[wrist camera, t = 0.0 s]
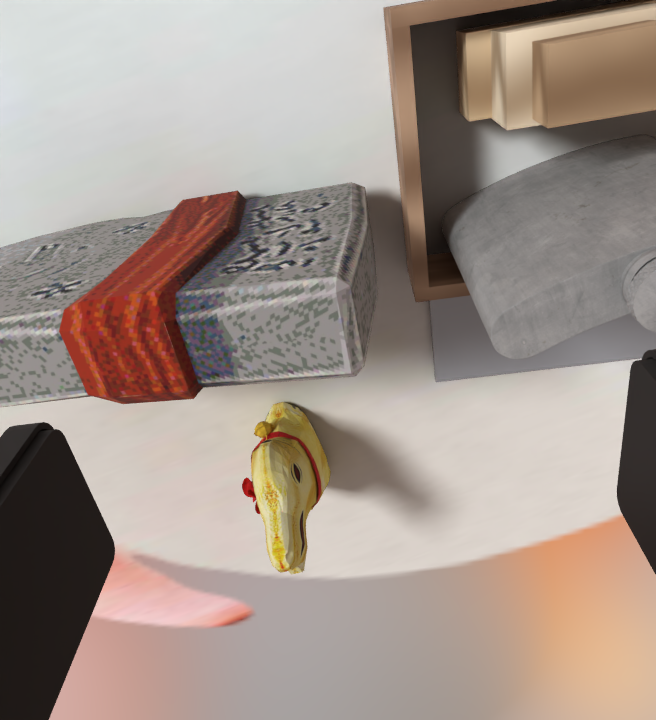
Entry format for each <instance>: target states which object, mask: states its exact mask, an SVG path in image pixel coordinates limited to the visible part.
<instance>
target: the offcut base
mask: <svg viewBox="0 0 656 720" xmlns="http://www.w3.org/2000/svg"><path fill="white" fill-rule="evenodd" d="M645 3H656V0H630V1H624V2H618V3H613V4H607V5H601V6H595V7H590V8H584V9H578V10H572V11H567V12H561V13H555V14H550V15H544V16H538V17H532V18H527V19H521V20H515V21H510V22H504V23H498V24H492V25H487V26H481V27H475V28H470V29H464V30H458V31H456V46H457V68H458V91H459V113H460V114H462V115H463V116H464V117H465V118H466V119H467V120H468V121H476V120H482V119H488V118H492V86H491V35H490V30H496V29H501V28H507V27H513V26H519V25H524V24H530V23H536V22H541V21H547V20H553V19H559V18H564V17H570V16H576V15H582V14H587V13H593V12H599V11H604V10H610V9H616V8H622V7H627V6H633V5H639V4H645Z"/></svg>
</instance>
